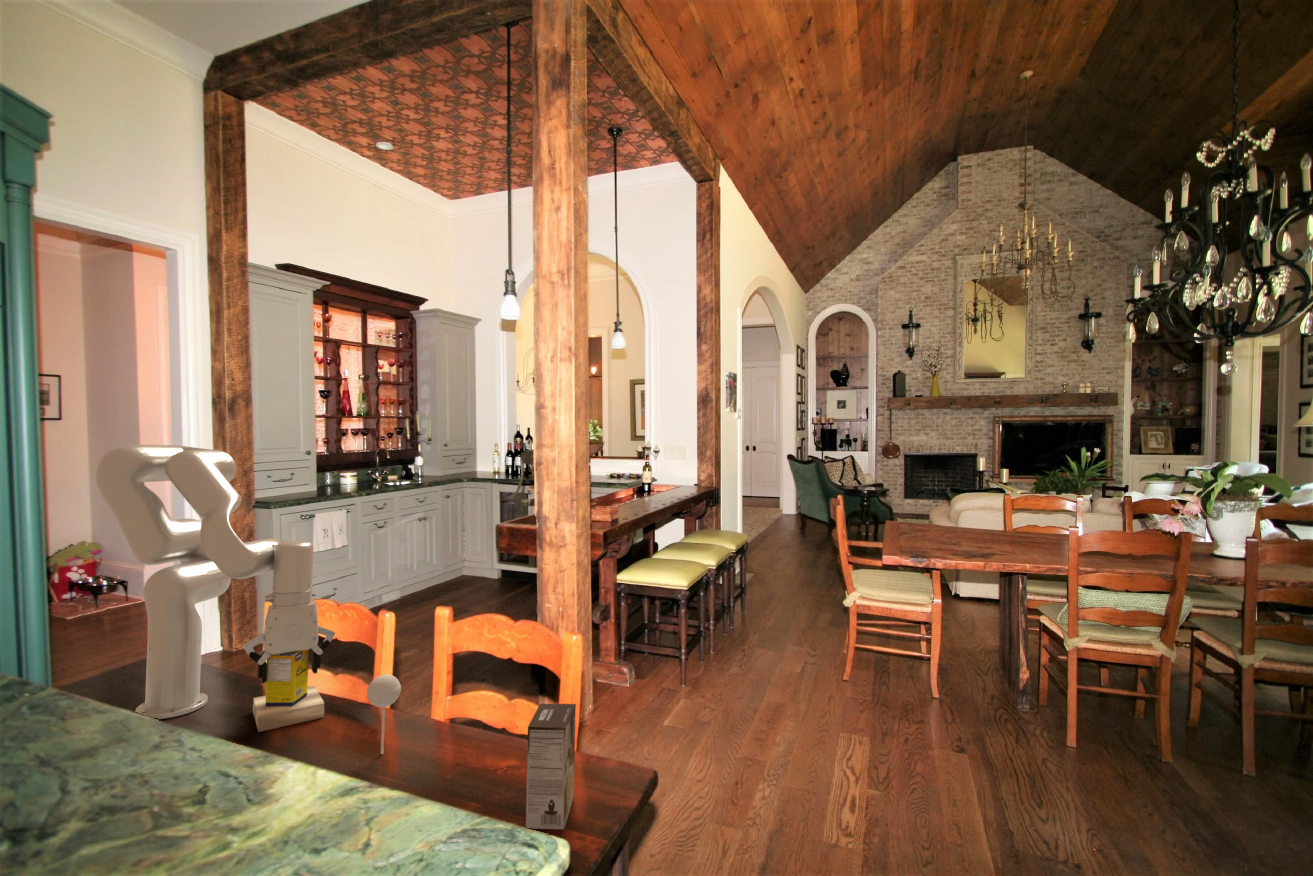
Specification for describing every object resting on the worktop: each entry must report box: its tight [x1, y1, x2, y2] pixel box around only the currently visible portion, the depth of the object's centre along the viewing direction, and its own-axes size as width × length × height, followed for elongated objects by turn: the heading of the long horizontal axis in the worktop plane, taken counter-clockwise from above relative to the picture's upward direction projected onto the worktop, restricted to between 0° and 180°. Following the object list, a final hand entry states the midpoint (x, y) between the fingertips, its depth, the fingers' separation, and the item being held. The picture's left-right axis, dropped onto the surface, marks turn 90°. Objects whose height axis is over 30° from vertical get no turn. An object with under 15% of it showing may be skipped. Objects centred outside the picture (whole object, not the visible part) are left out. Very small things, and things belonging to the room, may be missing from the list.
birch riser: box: [252, 685, 325, 733], centre depth 133 cm, size 12×12×3 cm
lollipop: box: [366, 674, 402, 755], centre depth 117 cm, size 6×6×15 cm
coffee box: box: [525, 703, 577, 830], centre depth 100 cm, size 9×6×16 cm
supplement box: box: [265, 650, 309, 706], centre depth 133 cm, size 6×6×11 cm
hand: (289, 676), depth 134 cm, fingers open, 9 cm apart
